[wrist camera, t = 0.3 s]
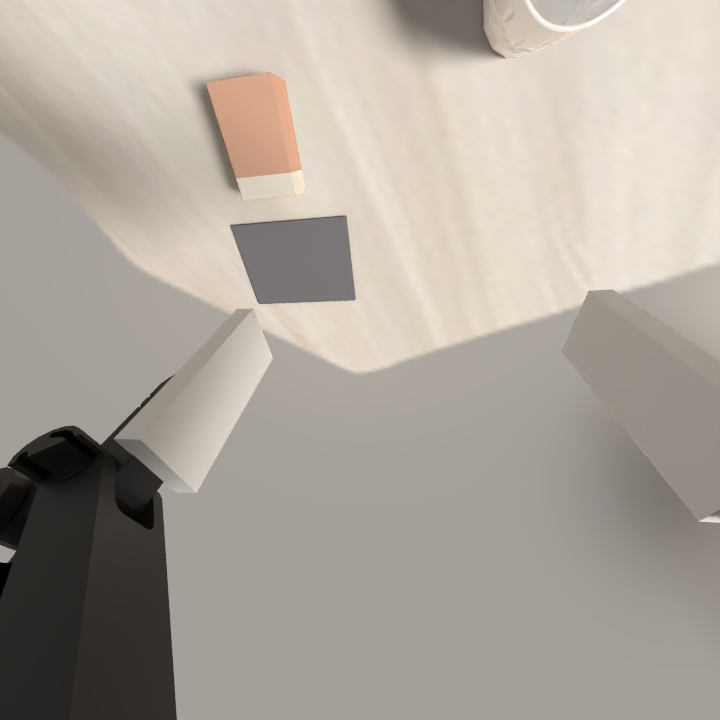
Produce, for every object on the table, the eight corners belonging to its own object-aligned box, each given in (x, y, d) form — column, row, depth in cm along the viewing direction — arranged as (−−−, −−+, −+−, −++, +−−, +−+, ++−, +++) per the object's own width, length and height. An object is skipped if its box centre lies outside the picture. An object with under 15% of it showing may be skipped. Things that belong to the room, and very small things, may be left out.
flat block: (227, 89, 26) (205, 82, 23) (285, 80, 26) (270, 71, 22) (257, 195, 32) (243, 200, 29) (305, 190, 31) (295, 195, 28)
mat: (232, 225, 34) (230, 226, 34) (346, 215, 32) (345, 216, 32) (260, 302, 41) (259, 304, 41) (355, 298, 39) (355, 300, 39)
